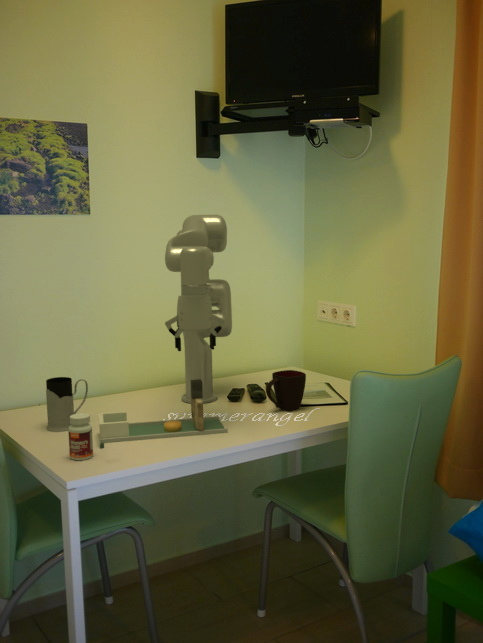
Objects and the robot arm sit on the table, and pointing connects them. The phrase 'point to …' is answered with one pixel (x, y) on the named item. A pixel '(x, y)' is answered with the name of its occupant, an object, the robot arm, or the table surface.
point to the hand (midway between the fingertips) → (195, 349)
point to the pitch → (150, 428)
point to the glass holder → (61, 403)
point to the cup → (287, 389)
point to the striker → (197, 404)
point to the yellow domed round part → (172, 426)
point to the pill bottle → (80, 437)
